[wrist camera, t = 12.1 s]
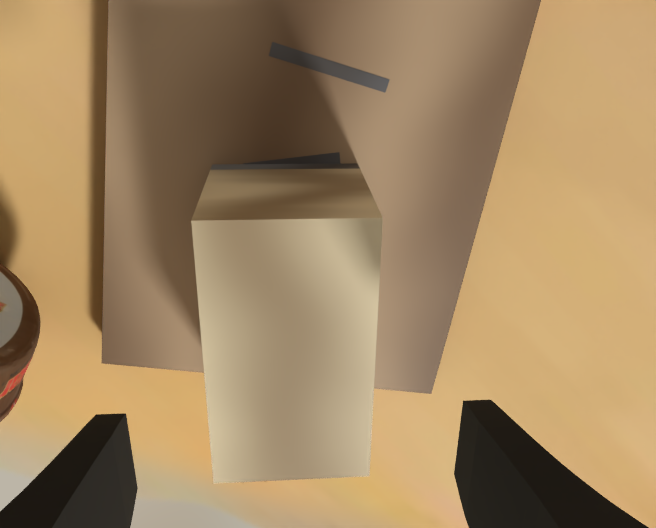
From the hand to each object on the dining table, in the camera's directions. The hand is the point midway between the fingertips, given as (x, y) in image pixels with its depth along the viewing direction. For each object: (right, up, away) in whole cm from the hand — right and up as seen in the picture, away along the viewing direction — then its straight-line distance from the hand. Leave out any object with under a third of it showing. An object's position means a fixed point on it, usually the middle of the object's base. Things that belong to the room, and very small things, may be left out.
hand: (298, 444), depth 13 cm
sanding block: (-1, +3, +7) cm, 8 cm away
